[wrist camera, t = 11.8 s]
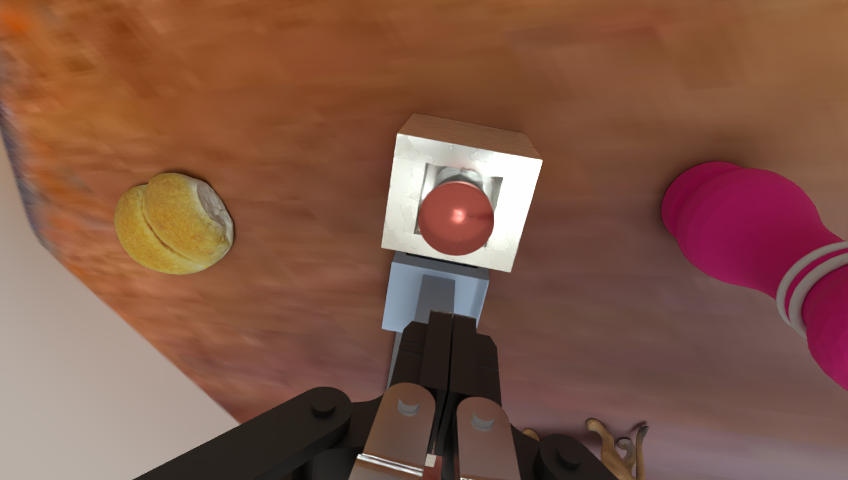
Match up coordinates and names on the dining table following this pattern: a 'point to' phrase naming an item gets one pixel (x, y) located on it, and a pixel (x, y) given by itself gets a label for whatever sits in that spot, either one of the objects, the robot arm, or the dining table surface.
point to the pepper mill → (766, 249)
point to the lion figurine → (611, 456)
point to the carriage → (431, 290)
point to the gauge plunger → (456, 213)
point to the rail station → (468, 150)
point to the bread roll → (174, 224)
